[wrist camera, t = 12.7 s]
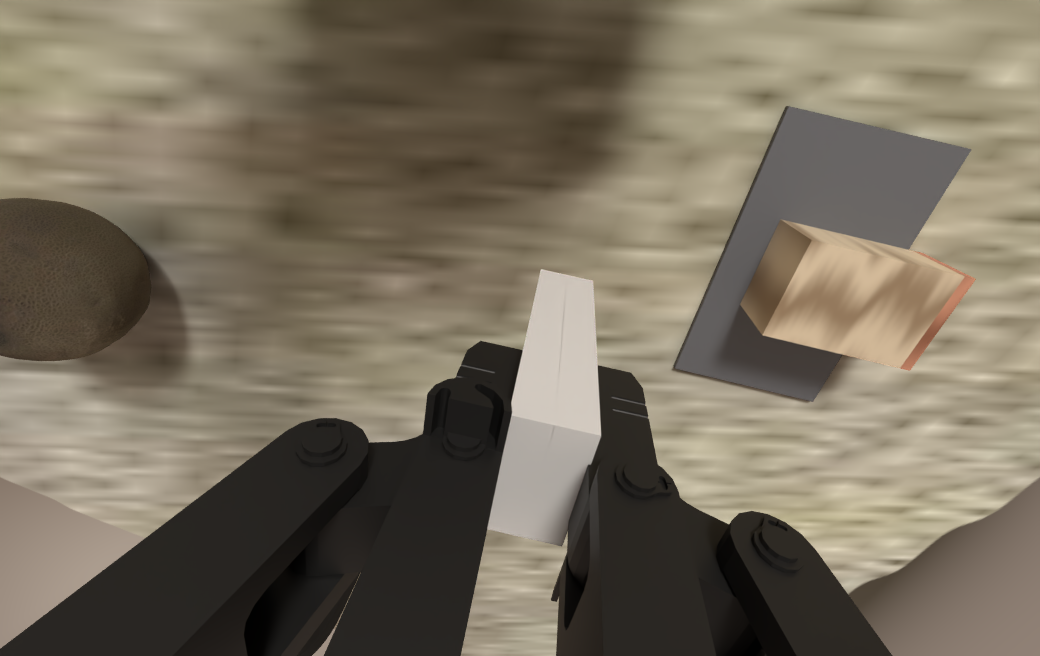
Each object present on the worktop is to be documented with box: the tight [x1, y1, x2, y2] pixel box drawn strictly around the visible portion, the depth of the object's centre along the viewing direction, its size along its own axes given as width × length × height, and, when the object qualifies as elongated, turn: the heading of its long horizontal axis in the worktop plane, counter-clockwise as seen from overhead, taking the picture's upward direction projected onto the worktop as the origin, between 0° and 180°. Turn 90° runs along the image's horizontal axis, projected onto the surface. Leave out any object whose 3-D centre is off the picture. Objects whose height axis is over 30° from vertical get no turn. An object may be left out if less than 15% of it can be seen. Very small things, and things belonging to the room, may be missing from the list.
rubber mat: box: [674, 106, 971, 402], centre depth 41 cm, size 24×14×1 cm, turn 168°
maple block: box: [740, 220, 976, 371], centre depth 38 cm, size 8×6×12 cm
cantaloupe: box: [0, 198, 151, 361], centre depth 42 cm, size 14×14×15 cm
